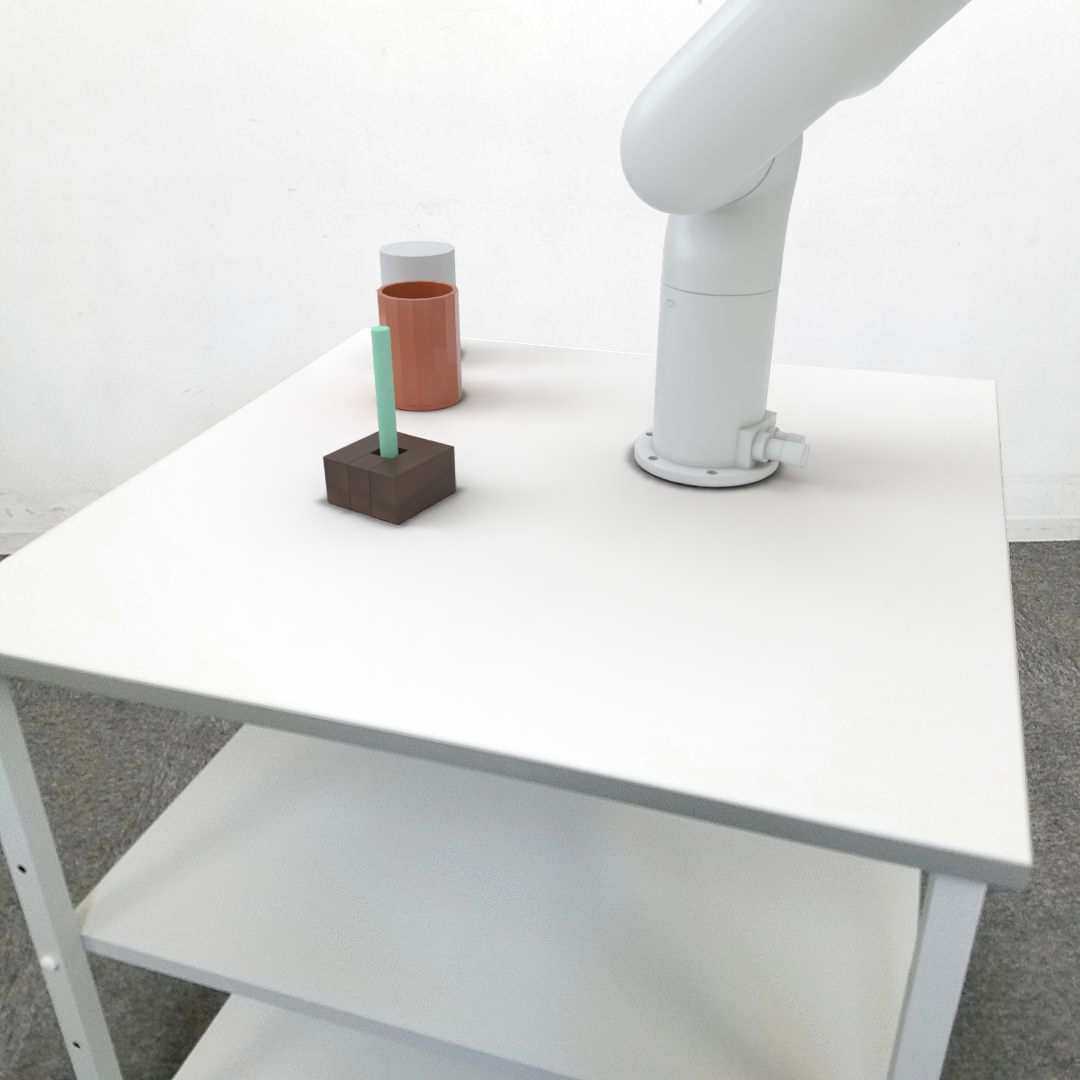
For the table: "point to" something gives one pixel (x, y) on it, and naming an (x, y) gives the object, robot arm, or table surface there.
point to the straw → (384, 391)
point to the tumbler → (423, 342)
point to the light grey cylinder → (417, 262)
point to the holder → (390, 477)
